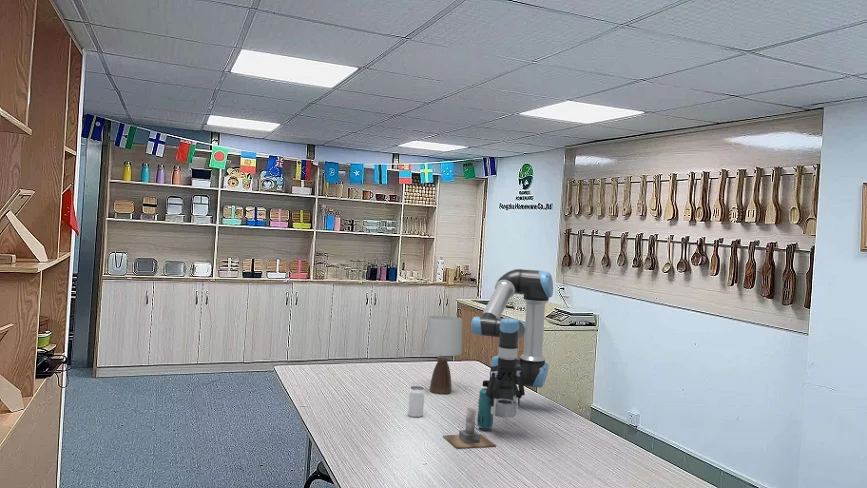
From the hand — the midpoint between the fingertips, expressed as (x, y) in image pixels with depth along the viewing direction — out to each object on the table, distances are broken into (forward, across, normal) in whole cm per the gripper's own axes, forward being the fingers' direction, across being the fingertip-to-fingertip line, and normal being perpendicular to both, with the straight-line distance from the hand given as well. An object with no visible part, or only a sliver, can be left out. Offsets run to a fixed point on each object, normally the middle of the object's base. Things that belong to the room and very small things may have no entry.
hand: (503, 413), depth 262 cm
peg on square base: (+8, +18, +7) cm, 20 cm away
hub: (0, 0, 0) cm, 0 cm away
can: (+9, +27, -30) cm, 41 cm away
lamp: (+10, 0, -70) cm, 70 cm away
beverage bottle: (+9, +5, -7) cm, 12 cm away
